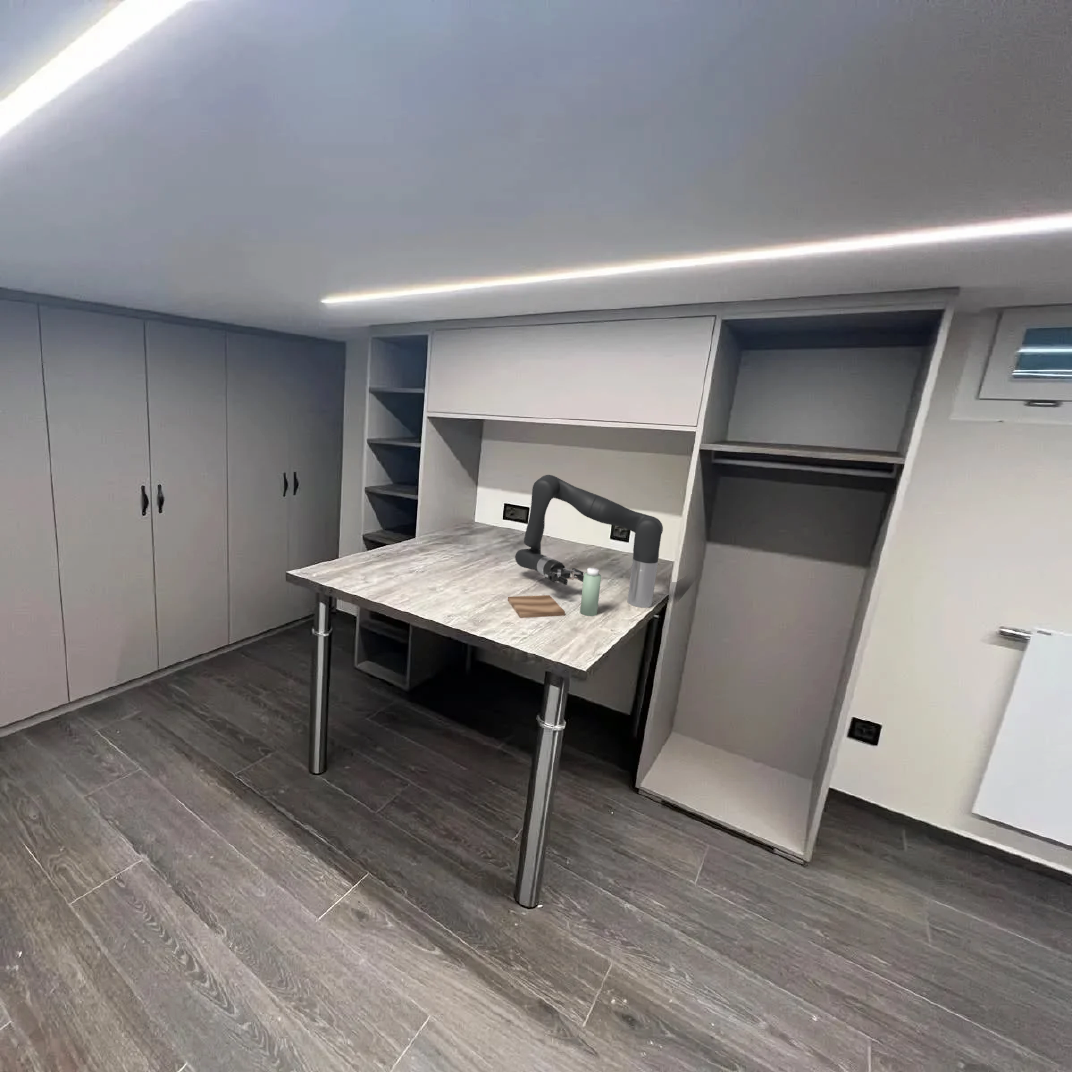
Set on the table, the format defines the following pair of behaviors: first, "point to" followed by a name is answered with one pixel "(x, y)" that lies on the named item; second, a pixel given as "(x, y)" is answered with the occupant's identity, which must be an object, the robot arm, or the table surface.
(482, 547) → the table surface
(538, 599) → the brown wooden flat square
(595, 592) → the bottle
